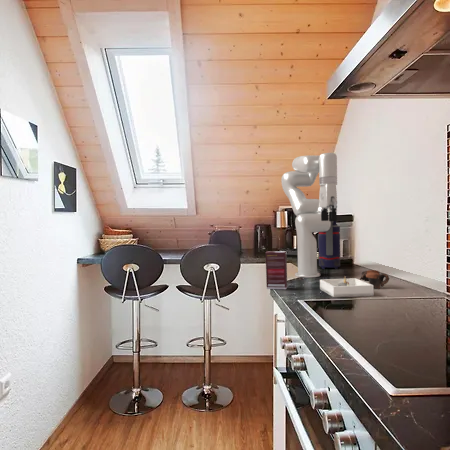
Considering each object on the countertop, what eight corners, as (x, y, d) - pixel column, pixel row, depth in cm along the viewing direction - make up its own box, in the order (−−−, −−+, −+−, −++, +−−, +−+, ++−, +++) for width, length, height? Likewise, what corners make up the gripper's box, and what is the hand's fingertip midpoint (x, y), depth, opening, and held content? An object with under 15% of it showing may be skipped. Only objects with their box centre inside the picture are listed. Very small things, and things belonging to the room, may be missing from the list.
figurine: (335, 288, 151) (337, 274, 150) (342, 287, 154) (344, 273, 153) (345, 292, 147) (347, 277, 146) (353, 291, 149) (355, 277, 148)
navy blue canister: (319, 266, 223) (318, 215, 222) (339, 266, 220) (339, 215, 219) (318, 269, 210) (318, 216, 209) (341, 270, 207) (340, 215, 206)
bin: (320, 289, 157) (319, 279, 157) (356, 287, 158) (355, 278, 158) (333, 297, 141) (333, 286, 141) (373, 295, 143) (373, 285, 142)
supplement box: (287, 287, 162) (286, 250, 161) (286, 289, 157) (285, 252, 157) (267, 286, 164) (267, 250, 164) (265, 289, 160) (265, 252, 159)
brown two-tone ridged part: (358, 289, 157) (356, 271, 161) (366, 295, 164) (363, 278, 168) (387, 284, 151) (384, 265, 155) (395, 291, 157) (391, 273, 161)
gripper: (313, 183, 172) (314, 220, 172) (326, 180, 154) (327, 221, 155) (329, 183, 172) (330, 220, 173) (344, 179, 155) (344, 221, 155)
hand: (328, 221), depth 164 cm, fingers open, 9 cm apart
